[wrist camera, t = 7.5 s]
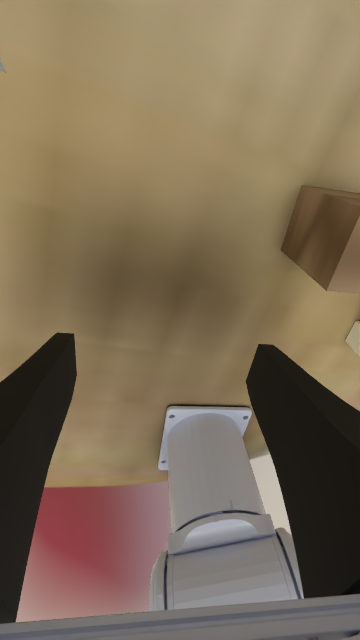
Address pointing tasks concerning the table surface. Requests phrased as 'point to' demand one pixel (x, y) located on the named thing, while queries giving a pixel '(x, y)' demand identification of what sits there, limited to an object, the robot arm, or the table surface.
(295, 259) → the brown wooden mallet
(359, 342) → the shelf
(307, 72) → the table surface
